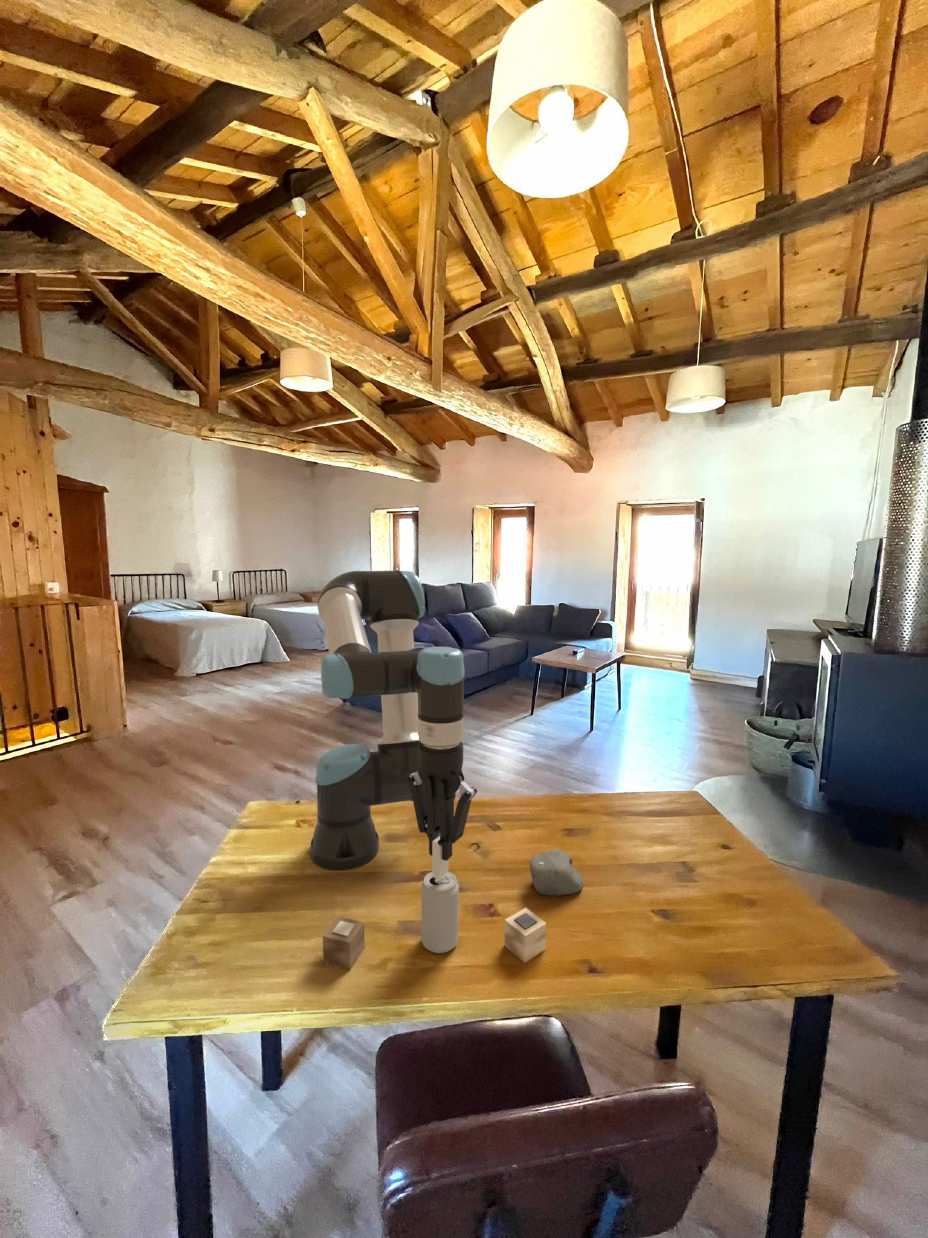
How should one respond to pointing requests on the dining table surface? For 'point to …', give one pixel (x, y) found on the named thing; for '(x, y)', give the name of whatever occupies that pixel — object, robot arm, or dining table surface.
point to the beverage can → (440, 913)
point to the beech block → (525, 934)
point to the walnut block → (343, 942)
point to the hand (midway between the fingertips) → (440, 874)
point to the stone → (555, 874)
